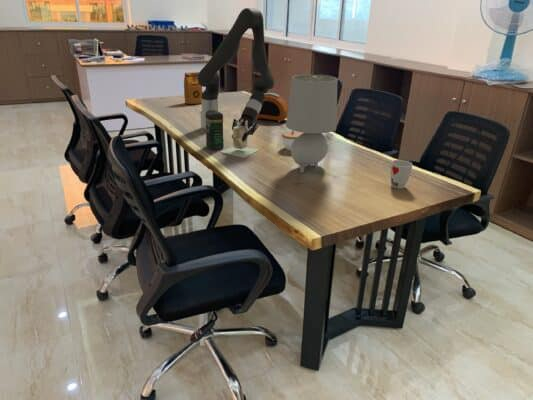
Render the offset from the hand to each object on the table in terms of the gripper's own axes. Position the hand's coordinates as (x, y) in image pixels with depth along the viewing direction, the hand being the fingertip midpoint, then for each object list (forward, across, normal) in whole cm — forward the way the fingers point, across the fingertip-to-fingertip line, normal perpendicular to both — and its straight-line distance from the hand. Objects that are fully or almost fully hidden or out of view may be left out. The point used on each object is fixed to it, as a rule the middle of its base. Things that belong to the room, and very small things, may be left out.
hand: (238, 139), depth 202 cm
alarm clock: (-42, -21, +51) cm, 69 cm away
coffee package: (-47, -89, +56) cm, 115 cm away
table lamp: (+5, +38, +5) cm, 39 cm away
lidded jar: (-10, +19, +20) cm, 29 cm away
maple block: (+2, 0, +4) cm, 5 cm away
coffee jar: (+5, -14, +4) cm, 16 cm away
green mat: (+3, 0, +6) cm, 7 cm away
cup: (+3, +78, +7) cm, 78 cm away
